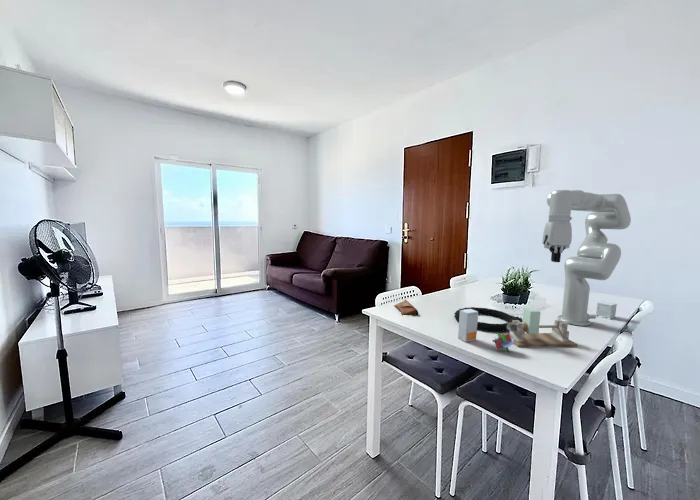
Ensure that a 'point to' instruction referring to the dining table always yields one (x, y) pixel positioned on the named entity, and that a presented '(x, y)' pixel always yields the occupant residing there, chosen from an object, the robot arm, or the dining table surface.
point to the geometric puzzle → (503, 341)
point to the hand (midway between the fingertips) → (555, 261)
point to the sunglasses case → (406, 308)
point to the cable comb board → (540, 335)
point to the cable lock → (493, 313)
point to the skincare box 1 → (468, 325)
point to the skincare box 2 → (606, 309)
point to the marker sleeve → (531, 320)
